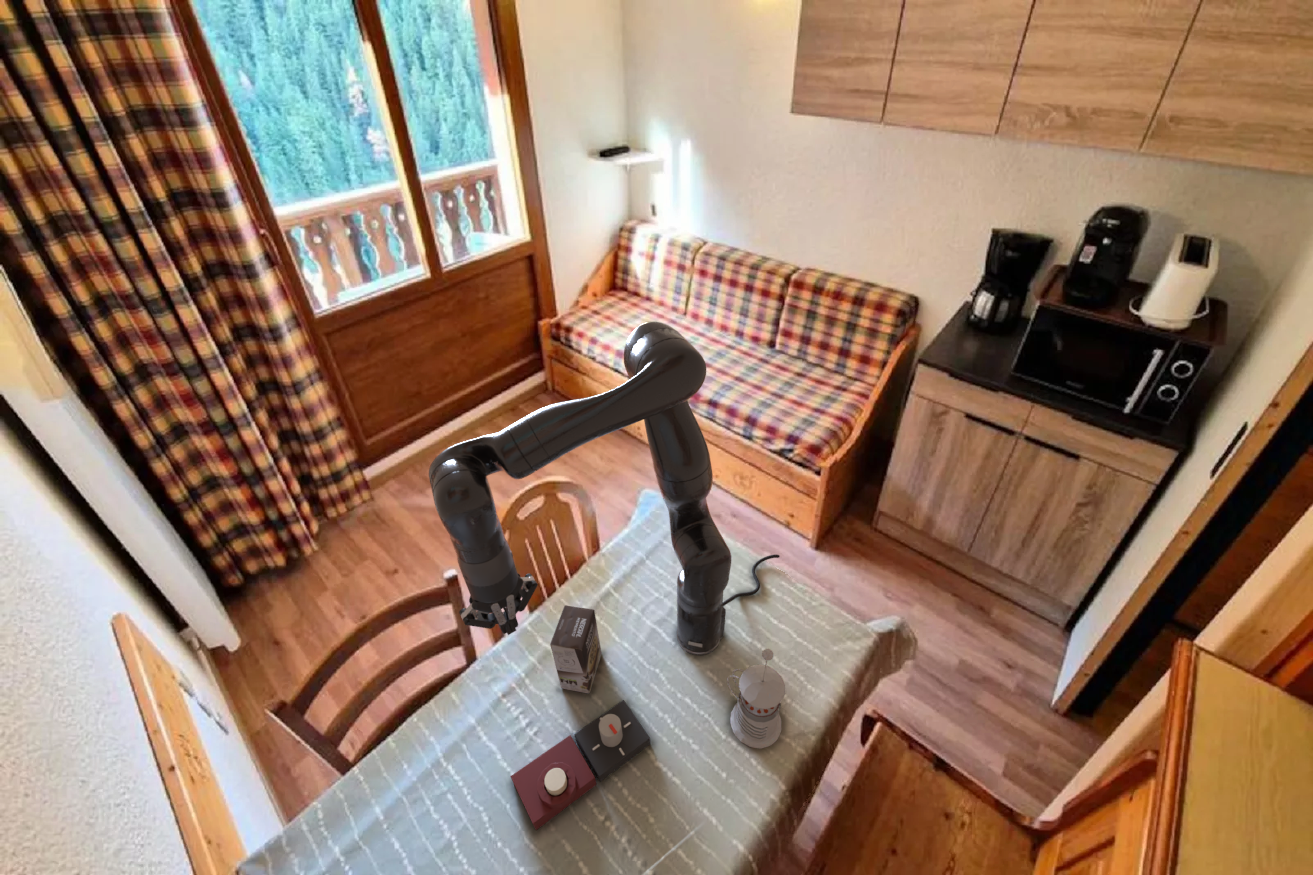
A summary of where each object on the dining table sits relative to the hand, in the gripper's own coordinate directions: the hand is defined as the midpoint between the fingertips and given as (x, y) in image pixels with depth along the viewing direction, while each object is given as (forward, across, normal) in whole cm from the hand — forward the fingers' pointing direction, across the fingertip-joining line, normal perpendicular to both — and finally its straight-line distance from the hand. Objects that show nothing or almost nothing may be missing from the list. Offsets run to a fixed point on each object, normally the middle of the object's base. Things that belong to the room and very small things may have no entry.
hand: (509, 629), depth 96 cm
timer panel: (+27, -9, +15) cm, 32 cm away
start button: (+22, +3, +17) cm, 28 cm away
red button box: (+27, +4, +15) cm, 31 cm away
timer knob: (+24, -9, +15) cm, 30 cm away
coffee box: (+27, -11, -1) cm, 29 cm away
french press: (+27, -33, +27) cm, 50 cm away
